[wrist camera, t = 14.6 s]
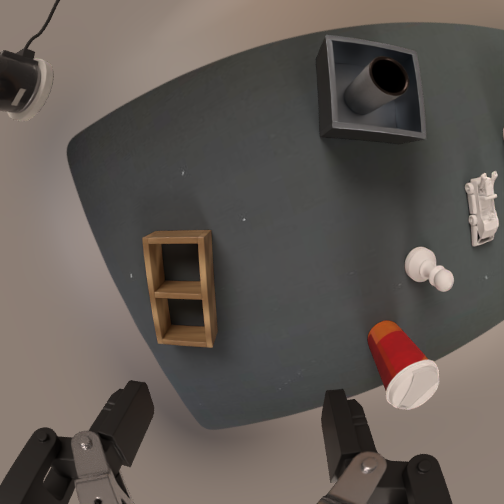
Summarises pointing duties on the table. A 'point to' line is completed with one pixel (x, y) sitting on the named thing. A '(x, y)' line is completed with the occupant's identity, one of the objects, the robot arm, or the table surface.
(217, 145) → the table surface
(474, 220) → the toy car
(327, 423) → the robot arm
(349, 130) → the dark grey open box
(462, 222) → the table surface
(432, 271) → the chess pawn
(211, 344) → the wooden divided box
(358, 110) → the grey hollow cylinder
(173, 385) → the table surface
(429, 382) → the paper cup
